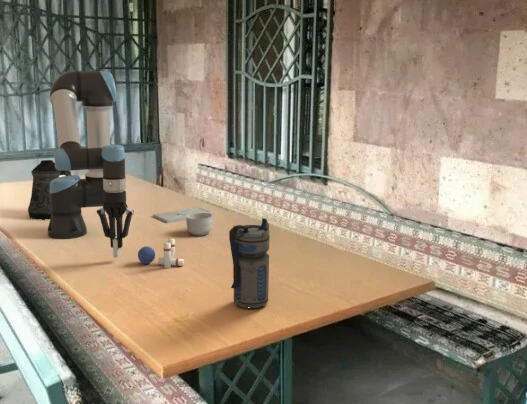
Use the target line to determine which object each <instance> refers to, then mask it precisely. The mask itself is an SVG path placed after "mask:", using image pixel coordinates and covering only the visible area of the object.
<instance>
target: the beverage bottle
mask: <svg viewBox="0 0 527 404" xmlns="http://www.w3.org/2000/svg"><path fill="white" fill-rule="evenodd" d="M228 232H229V234H228V235H229V236H228V237H229V244H230V245H229V246H230V252H231V258H232V265H233V266H232V267H233V269H232V270H233V273H232V275H233V283H232V285H231V287H230V288H231V289H233V302H234V304H235V305H236V306H237V307H240V308H243V309H247V308H248V307H250V308H255V309H259V308H258V307H260V308H263V307H265V306H266V305H267V303H268V302H269V292H270V291H269V289H270V288H269V287H270V285H269V283H270V281H269V280H270V275H269V274H270V255H269V253H268V251H269V250H270V241H271V239H270V238H271V237H270V236H271V234H270V224H269V222H268V219H267V218H264V217H262V218H261V225H259V224H244V225H243V224H238V225H237V224H236V225H234V226H233V227H232V228H231V229H230V230H229V231H228ZM264 305H265V306H264ZM262 306H263V307H262Z"/></svg>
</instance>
